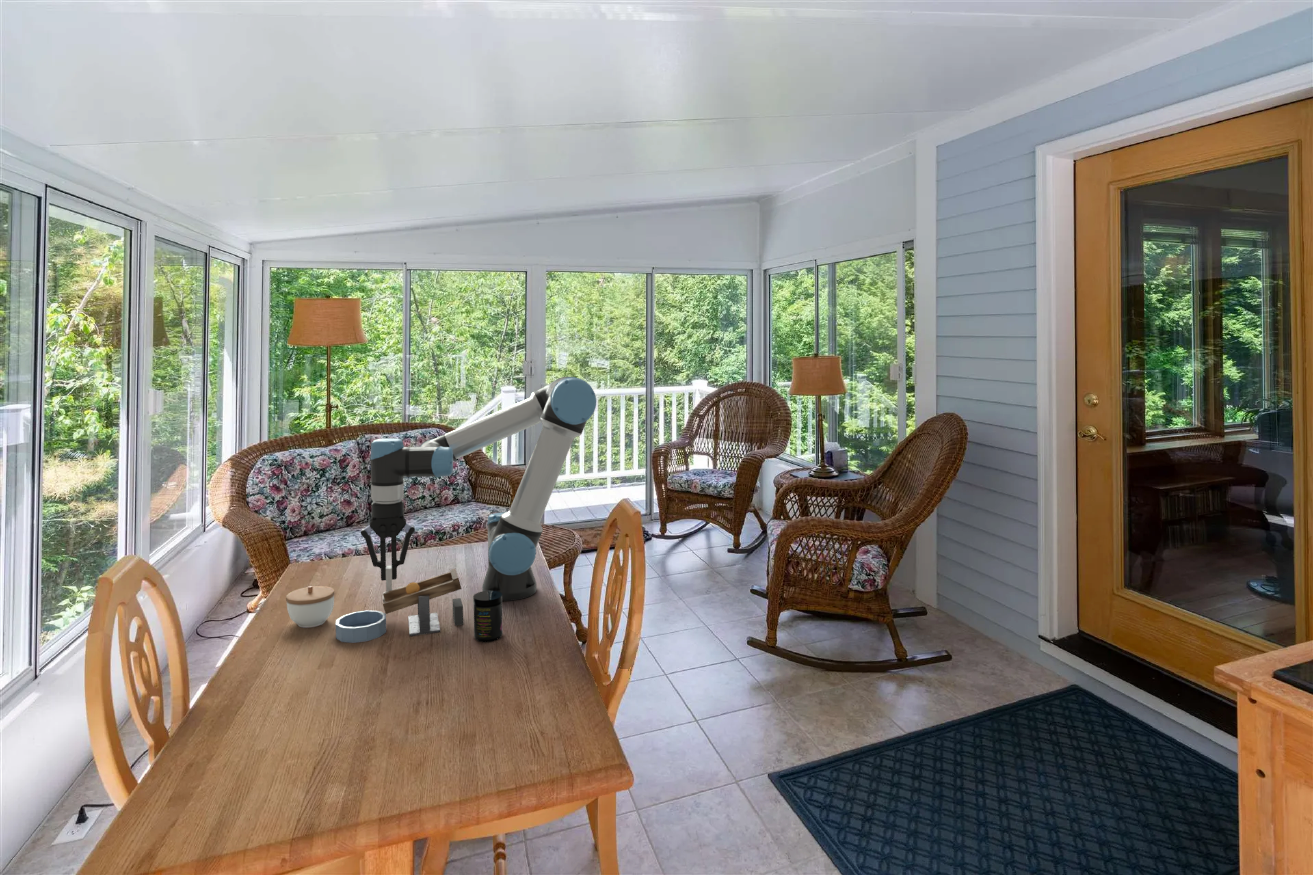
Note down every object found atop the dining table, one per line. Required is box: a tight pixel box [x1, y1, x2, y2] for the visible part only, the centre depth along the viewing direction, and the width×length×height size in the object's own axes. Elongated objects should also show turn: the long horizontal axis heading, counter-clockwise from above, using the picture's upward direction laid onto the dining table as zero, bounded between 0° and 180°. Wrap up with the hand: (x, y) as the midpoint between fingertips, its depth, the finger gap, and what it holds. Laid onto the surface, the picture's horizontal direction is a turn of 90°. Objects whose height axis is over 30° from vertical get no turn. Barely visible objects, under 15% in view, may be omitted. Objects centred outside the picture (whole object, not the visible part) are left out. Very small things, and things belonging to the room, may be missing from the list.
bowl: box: [334, 609, 387, 644], centre depth 160 cm, size 11×11×4 cm
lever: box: [382, 568, 462, 615], centre depth 167 cm, size 18×14×3 cm
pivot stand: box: [407, 595, 441, 637], centre depth 165 cm, size 7×12×9 cm, turn 22°
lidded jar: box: [285, 585, 335, 629], centre depth 166 cm, size 11×11×9 cm
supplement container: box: [472, 590, 504, 643], centre depth 158 cm, size 7×7×10 cm
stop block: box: [452, 597, 464, 626], centre depth 168 cm, size 2×6×5 cm, turn 22°
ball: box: [406, 581, 420, 594], centre depth 164 cm, size 3×3×3 cm
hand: (389, 591), depth 169 cm, fingers closed
